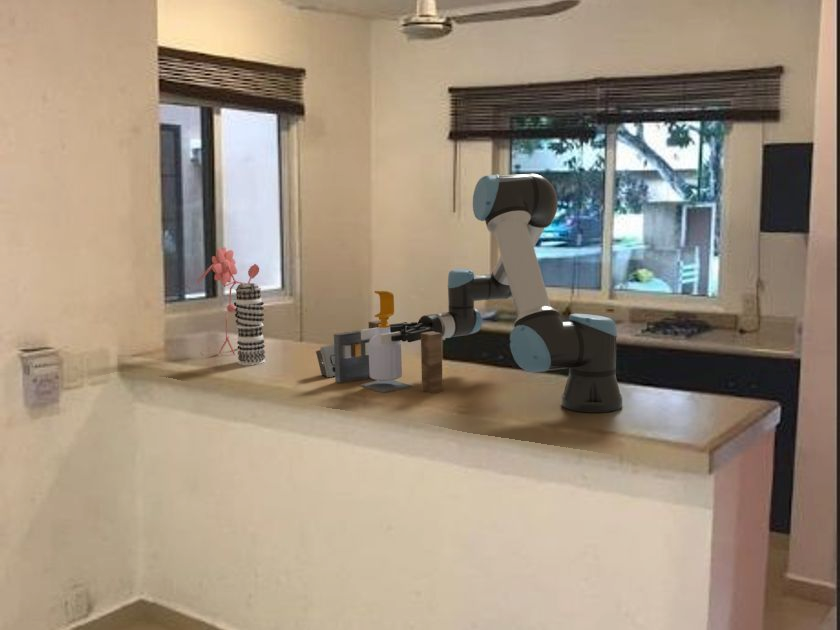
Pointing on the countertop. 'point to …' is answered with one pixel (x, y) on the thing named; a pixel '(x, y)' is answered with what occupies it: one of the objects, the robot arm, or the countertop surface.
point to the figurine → (227, 277)
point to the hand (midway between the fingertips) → (371, 337)
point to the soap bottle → (384, 345)
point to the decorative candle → (249, 324)
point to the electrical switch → (326, 360)
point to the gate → (428, 359)
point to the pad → (386, 385)
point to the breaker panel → (351, 357)
